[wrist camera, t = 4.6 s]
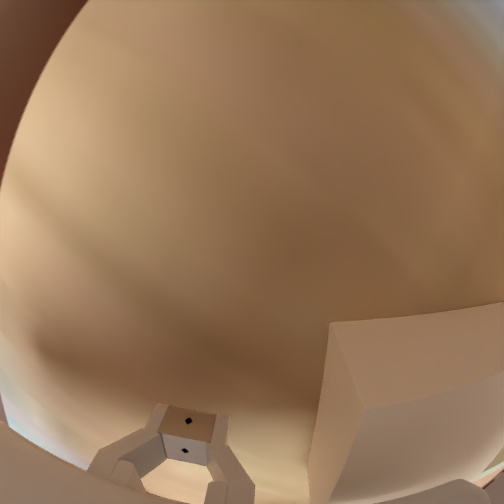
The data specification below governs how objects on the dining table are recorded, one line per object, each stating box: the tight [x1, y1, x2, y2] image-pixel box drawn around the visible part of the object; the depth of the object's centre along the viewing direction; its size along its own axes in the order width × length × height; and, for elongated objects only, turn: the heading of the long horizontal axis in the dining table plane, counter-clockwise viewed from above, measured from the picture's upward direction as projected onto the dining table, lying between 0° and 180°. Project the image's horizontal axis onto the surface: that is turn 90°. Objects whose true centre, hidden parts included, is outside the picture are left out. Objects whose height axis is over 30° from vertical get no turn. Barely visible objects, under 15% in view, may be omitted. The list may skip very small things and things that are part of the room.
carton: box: [307, 302, 504, 504], centre depth 9 cm, size 10×10×5 cm
